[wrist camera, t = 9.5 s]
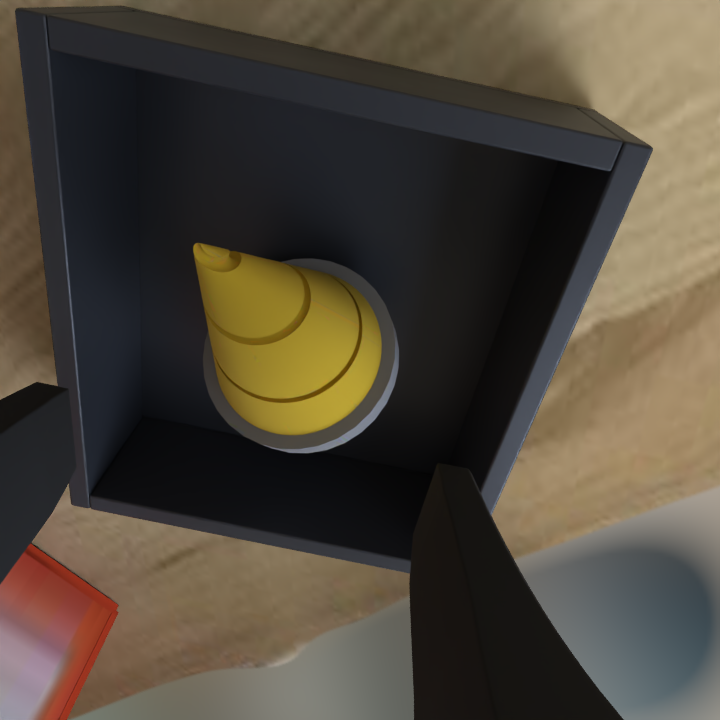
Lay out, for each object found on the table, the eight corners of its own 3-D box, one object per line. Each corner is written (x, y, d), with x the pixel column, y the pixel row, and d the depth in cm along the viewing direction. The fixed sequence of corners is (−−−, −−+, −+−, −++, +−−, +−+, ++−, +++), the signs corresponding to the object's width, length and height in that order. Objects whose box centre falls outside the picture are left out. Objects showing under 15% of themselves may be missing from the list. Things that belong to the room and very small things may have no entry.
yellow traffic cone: (221, 370, 20) (4, 234, 11) (344, 275, 20) (240, 58, 11) (308, 497, 18) (145, 472, 9) (442, 393, 19) (421, 260, 9)
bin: (132, 416, 22) (70, 505, 18) (121, 5, 15) (12, 6, 11) (455, 482, 22) (461, 584, 18) (595, 109, 15) (655, 147, 11)
